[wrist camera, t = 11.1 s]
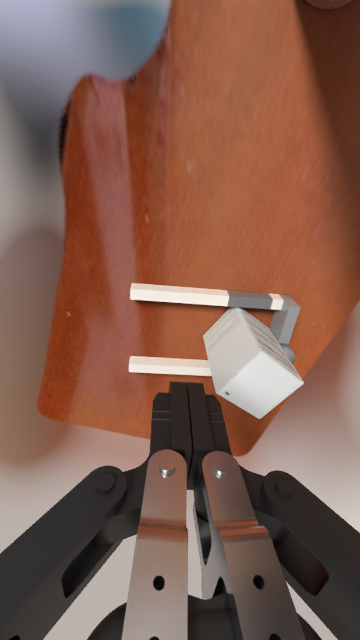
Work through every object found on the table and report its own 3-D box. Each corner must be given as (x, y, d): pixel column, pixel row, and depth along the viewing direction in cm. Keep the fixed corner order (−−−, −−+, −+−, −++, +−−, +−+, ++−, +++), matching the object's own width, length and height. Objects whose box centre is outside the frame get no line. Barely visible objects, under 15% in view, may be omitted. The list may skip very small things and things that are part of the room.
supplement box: (236, 359, 46) (258, 422, 35) (201, 335, 44) (213, 394, 32) (270, 327, 44) (306, 384, 32) (235, 299, 41) (261, 350, 30)
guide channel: (131, 283, 39) (126, 301, 34) (292, 295, 41) (310, 314, 36) (130, 363, 45) (125, 390, 40) (269, 371, 47) (281, 397, 42)
